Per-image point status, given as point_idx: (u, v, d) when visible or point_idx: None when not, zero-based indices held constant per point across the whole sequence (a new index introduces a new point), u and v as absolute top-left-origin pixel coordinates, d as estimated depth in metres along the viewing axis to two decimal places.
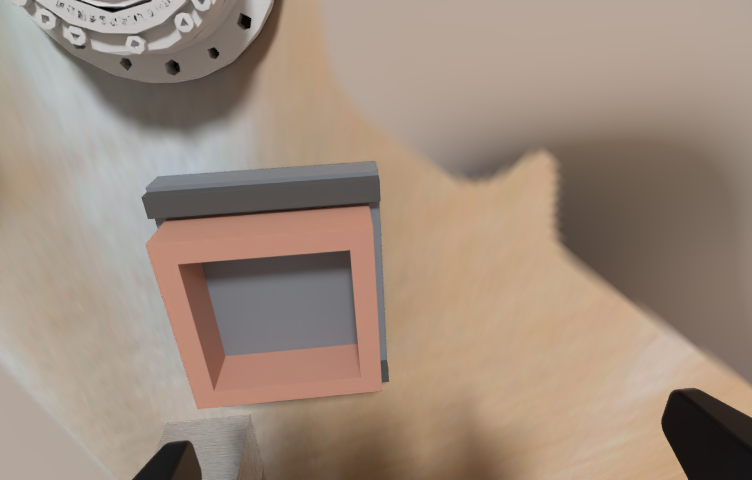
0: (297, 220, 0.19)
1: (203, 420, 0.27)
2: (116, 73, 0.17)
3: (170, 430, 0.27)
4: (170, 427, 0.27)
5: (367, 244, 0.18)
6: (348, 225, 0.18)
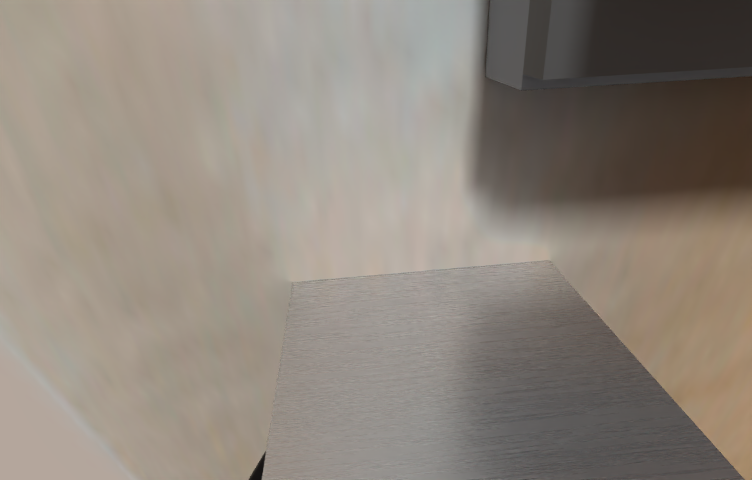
0: None
1: (408, 276, 0.08)
2: None
3: (311, 301, 0.08)
4: (307, 293, 0.08)
5: None
6: None
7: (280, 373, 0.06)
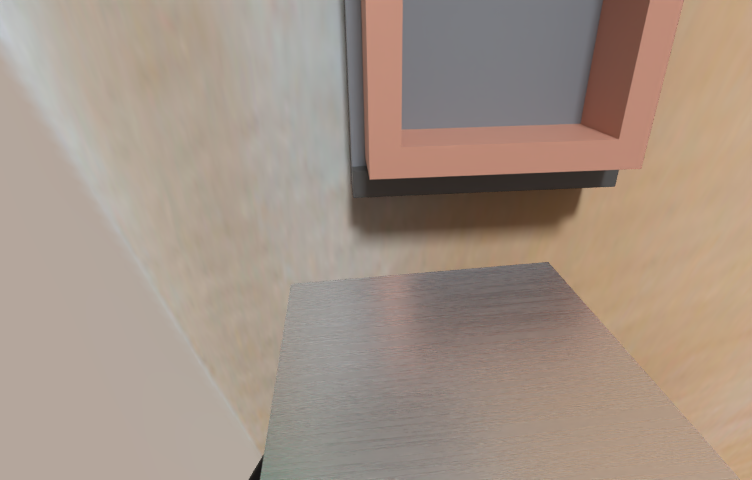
0: None
1: (406, 278, 0.08)
2: None
3: (310, 302, 0.08)
4: (305, 294, 0.08)
5: None
6: None
7: (278, 374, 0.06)
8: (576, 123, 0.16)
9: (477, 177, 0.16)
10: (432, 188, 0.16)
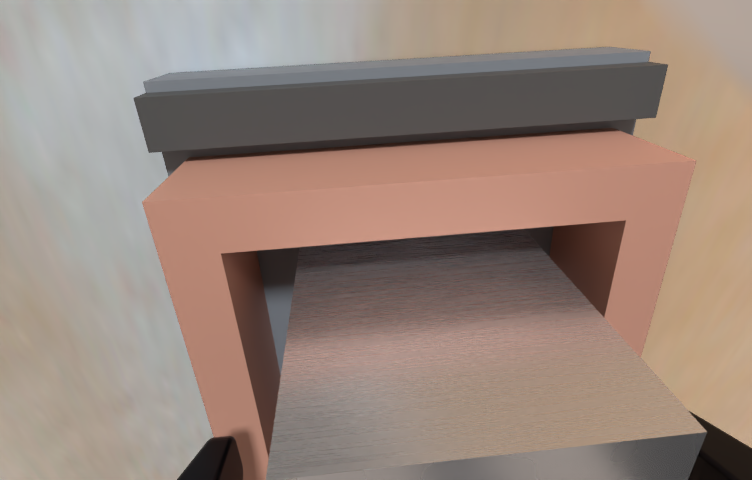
0: (491, 155, 0.08)
1: None
2: None
3: (317, 249, 0.10)
4: None
5: (668, 206, 0.08)
6: (628, 160, 0.08)
7: (294, 296, 0.08)
8: None
9: None
10: None
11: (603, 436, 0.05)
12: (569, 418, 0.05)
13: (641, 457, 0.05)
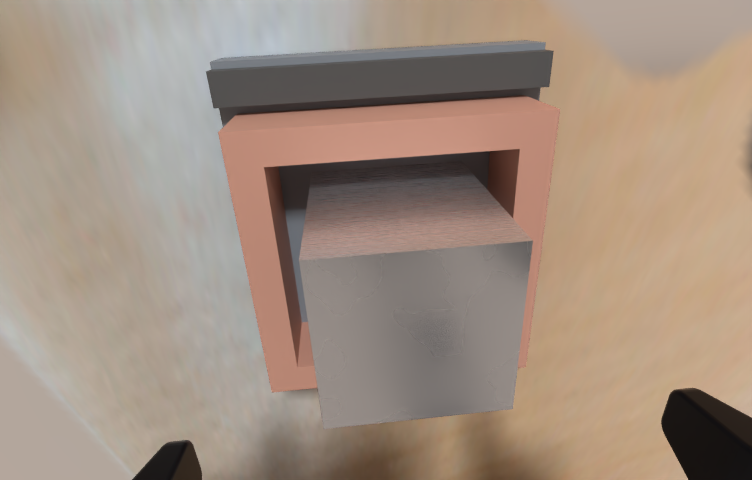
0: (436, 109, 0.13)
1: (378, 168, 0.15)
2: None
3: (323, 177, 0.14)
4: (320, 175, 0.14)
5: (546, 139, 0.12)
6: (519, 110, 0.12)
7: (308, 198, 0.13)
8: None
9: None
10: None
11: (477, 243, 0.10)
12: (462, 238, 0.10)
13: (499, 256, 0.10)
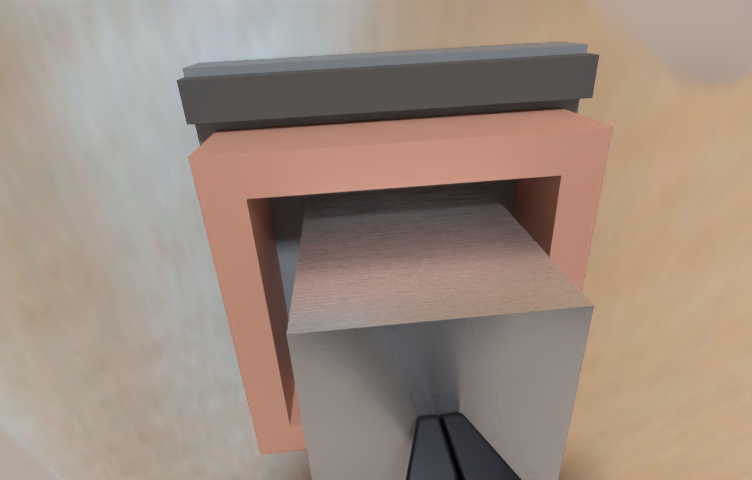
0: (457, 125, 0.10)
1: (385, 193, 0.12)
2: None
3: (320, 205, 0.12)
4: (317, 202, 0.12)
5: (594, 164, 0.10)
6: (561, 128, 0.10)
7: (302, 235, 0.10)
8: None
9: None
10: None
11: (521, 308, 0.07)
12: (499, 300, 0.08)
13: (549, 325, 0.07)
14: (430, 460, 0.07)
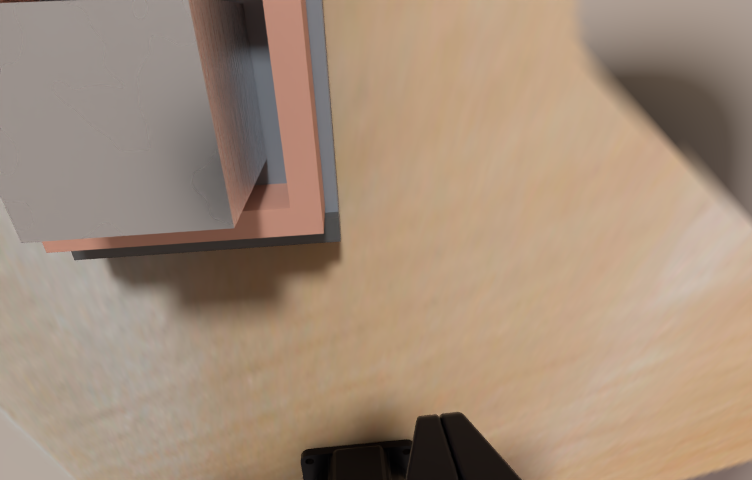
0: None
1: None
2: None
3: None
4: None
5: None
6: None
7: None
8: None
9: None
10: (152, 249, 0.17)
11: None
12: None
13: (154, 15, 0.09)
14: (430, 460, 0.07)
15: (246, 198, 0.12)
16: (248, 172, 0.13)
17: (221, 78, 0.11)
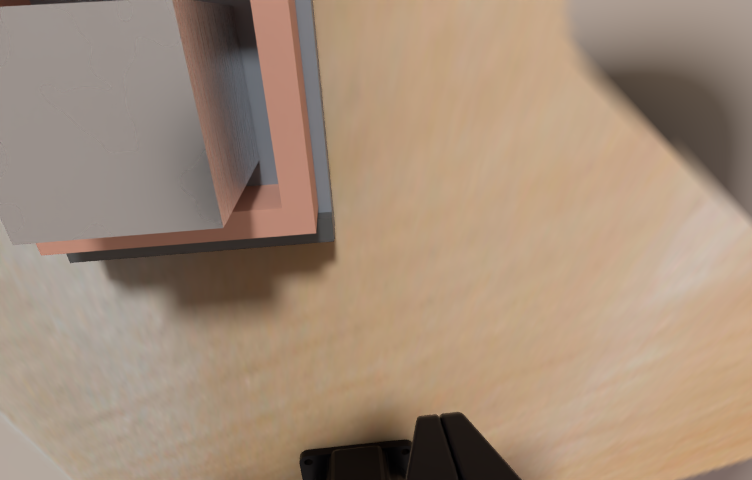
0: None
1: None
2: None
3: None
4: None
5: None
6: None
7: None
8: None
9: None
10: (147, 251, 0.17)
11: None
12: (105, 2, 0.09)
13: (139, 17, 0.09)
14: (430, 460, 0.07)
15: (237, 198, 0.13)
16: (239, 173, 0.13)
17: (209, 79, 0.11)
